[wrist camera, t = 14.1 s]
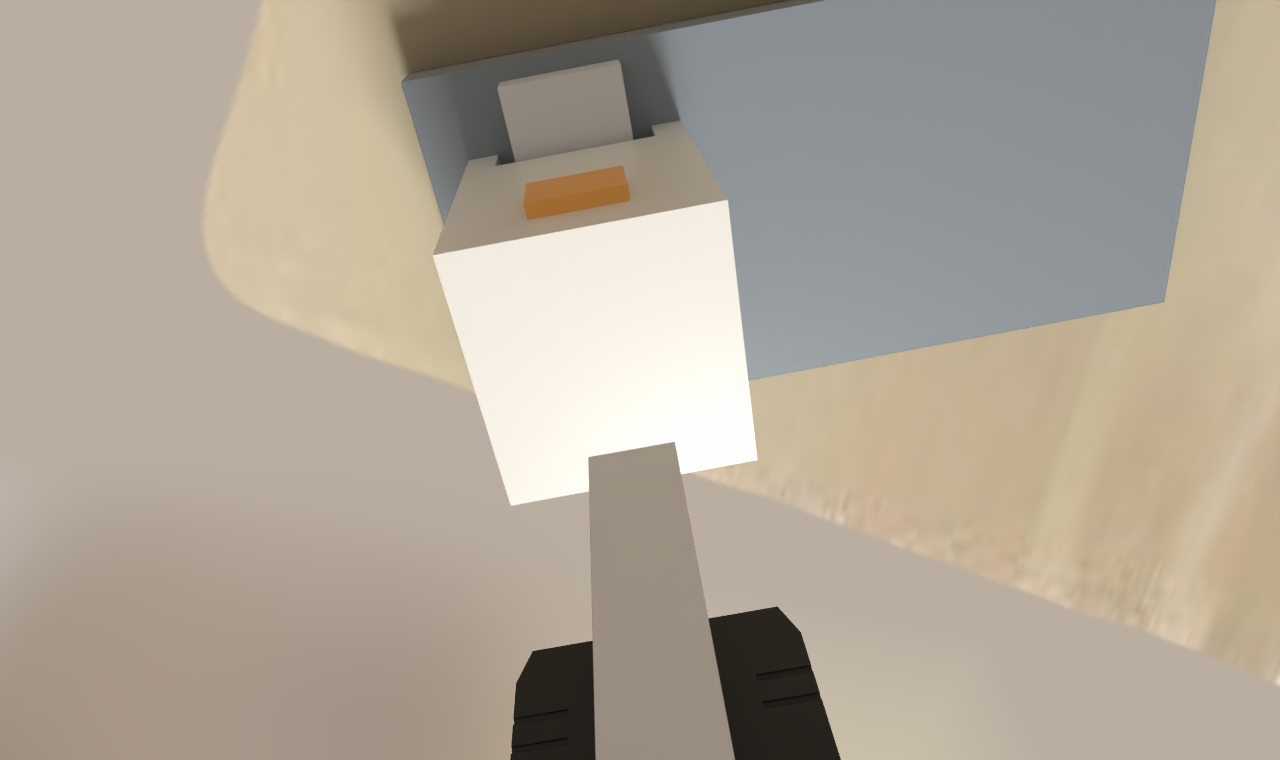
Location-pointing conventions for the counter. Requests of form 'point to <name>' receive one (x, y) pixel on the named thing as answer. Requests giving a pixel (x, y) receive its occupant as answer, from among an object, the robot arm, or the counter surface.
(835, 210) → the panel
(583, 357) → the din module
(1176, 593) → the counter surface
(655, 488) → the robot arm
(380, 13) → the counter surface
